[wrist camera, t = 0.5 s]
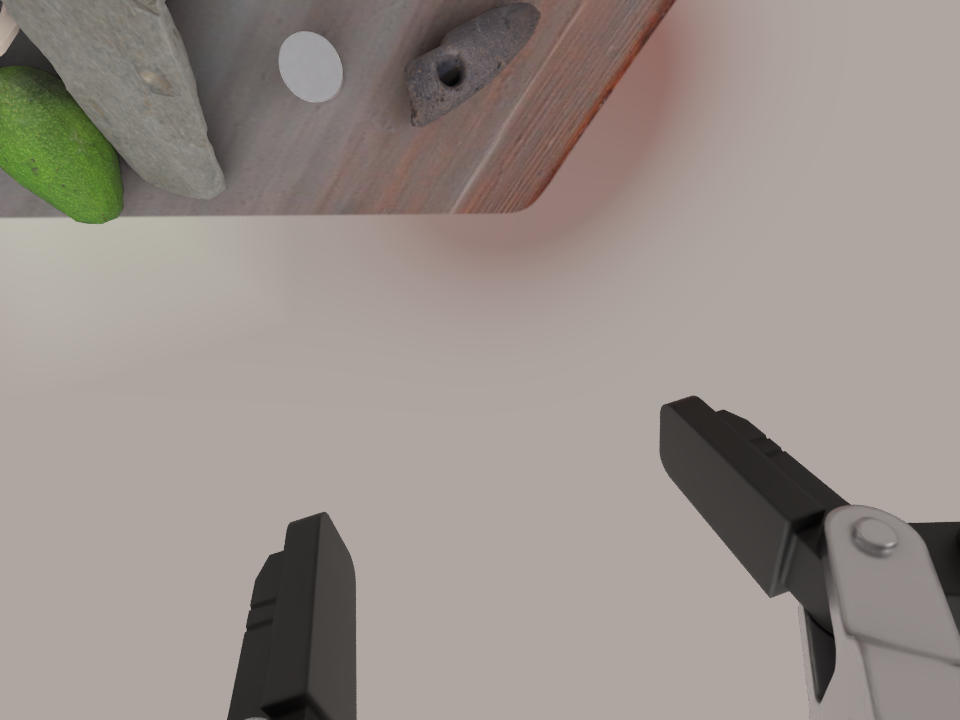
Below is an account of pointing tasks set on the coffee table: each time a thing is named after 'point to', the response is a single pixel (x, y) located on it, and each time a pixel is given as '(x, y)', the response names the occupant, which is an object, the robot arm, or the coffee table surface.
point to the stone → (130, 84)
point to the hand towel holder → (7, 30)
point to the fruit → (56, 147)
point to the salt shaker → (311, 67)
